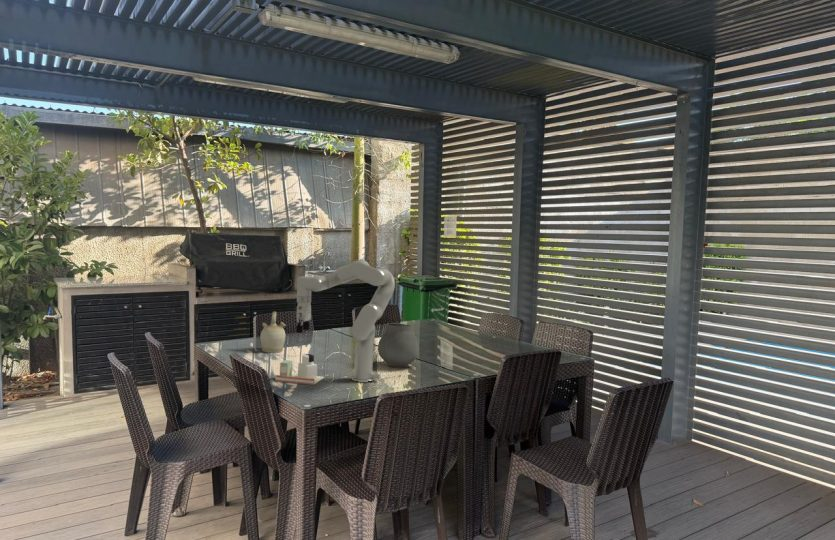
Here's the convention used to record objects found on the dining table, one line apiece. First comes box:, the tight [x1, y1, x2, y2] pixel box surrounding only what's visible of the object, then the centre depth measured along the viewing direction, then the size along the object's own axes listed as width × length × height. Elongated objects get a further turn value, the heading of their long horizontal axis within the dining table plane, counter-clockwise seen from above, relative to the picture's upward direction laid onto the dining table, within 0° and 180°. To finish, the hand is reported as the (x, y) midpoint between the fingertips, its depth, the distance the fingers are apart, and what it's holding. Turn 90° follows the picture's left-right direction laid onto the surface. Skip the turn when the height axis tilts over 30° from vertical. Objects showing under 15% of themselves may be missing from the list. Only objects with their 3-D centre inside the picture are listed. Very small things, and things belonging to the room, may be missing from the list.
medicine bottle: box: [297, 353, 318, 379], centre depth 299 cm, size 7×7×12 cm
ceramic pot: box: [377, 322, 420, 368], centre depth 337 cm, size 24×24×25 cm
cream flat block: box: [275, 373, 325, 386], centre depth 296 cm, size 20×17×3 cm
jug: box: [259, 311, 287, 354], centre depth 359 cm, size 15×16×25 cm
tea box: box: [279, 359, 293, 377], centre depth 294 cm, size 4×6×9 cm, turn 170°
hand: (302, 331), depth 308 cm, fingers open, 9 cm apart
